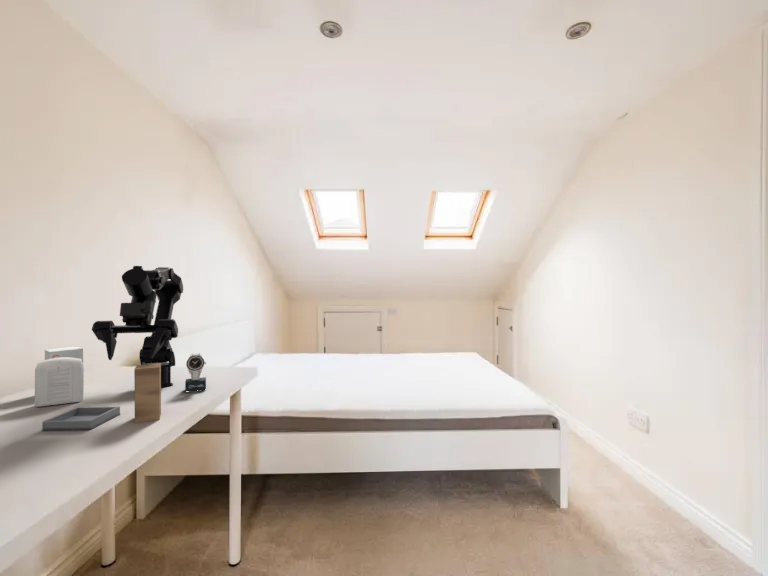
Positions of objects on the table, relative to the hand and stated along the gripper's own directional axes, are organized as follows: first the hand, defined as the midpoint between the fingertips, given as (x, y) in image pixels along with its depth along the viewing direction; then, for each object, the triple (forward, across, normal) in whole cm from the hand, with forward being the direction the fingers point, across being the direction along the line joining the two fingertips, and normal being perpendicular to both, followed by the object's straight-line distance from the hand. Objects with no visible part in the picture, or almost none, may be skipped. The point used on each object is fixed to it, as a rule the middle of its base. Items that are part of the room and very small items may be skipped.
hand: (130, 358), depth 98 cm
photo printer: (+3, -21, +19) cm, 28 cm away
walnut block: (+15, +6, +3) cm, 16 cm away
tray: (+14, -8, +4) cm, 17 cm away
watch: (0, +12, +22) cm, 25 cm away
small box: (-5, -25, +29) cm, 39 cm away
